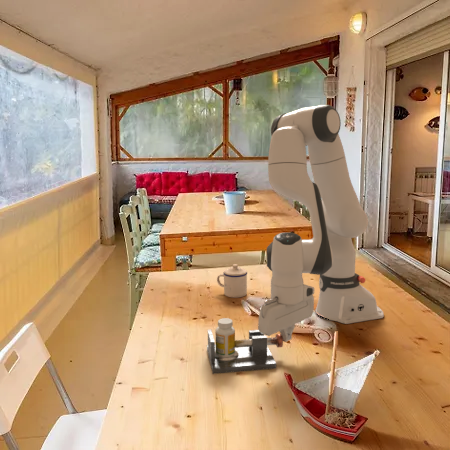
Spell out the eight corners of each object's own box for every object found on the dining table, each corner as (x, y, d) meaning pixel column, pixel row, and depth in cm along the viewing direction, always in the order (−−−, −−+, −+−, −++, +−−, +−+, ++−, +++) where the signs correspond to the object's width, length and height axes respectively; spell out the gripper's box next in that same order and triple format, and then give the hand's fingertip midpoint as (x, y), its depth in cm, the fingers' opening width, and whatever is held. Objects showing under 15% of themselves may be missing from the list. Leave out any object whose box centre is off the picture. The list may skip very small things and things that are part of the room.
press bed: (264, 345, 145) (264, 321, 143) (276, 368, 131) (276, 342, 130) (207, 349, 142) (206, 325, 141) (212, 373, 129) (212, 347, 127)
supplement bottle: (216, 358, 133) (215, 325, 131) (215, 349, 139) (214, 317, 137) (236, 357, 134) (236, 324, 132) (234, 348, 139) (233, 316, 137)
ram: (279, 343, 139) (279, 331, 139) (282, 349, 136) (282, 337, 135) (234, 347, 138) (234, 335, 137) (236, 353, 134) (236, 340, 133)
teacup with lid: (250, 291, 191) (250, 262, 189) (242, 299, 183) (242, 269, 180) (221, 288, 195) (221, 259, 193) (212, 295, 187) (212, 266, 184)
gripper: (270, 305, 125) (270, 356, 128) (318, 286, 139) (317, 332, 142) (252, 299, 130) (252, 348, 132) (300, 282, 144) (299, 326, 146)
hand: (286, 340), depth 137 cm, fingers closed
